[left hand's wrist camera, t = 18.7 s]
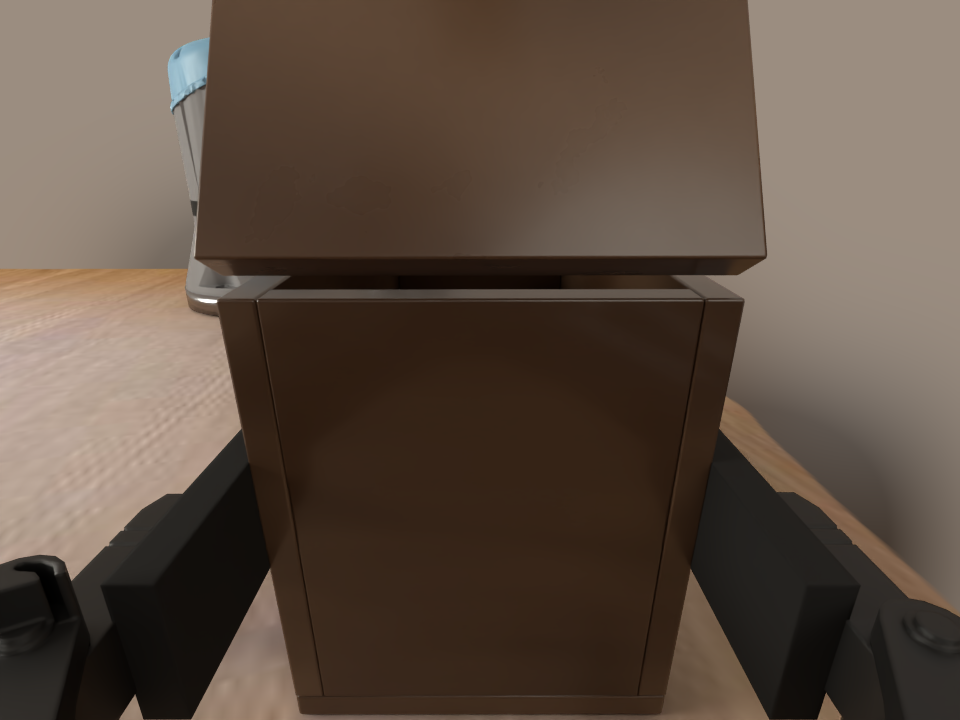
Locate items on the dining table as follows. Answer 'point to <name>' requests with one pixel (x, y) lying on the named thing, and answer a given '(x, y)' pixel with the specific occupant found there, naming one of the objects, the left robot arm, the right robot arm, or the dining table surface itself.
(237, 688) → the dining table surface
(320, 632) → the chest
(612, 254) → the lid
